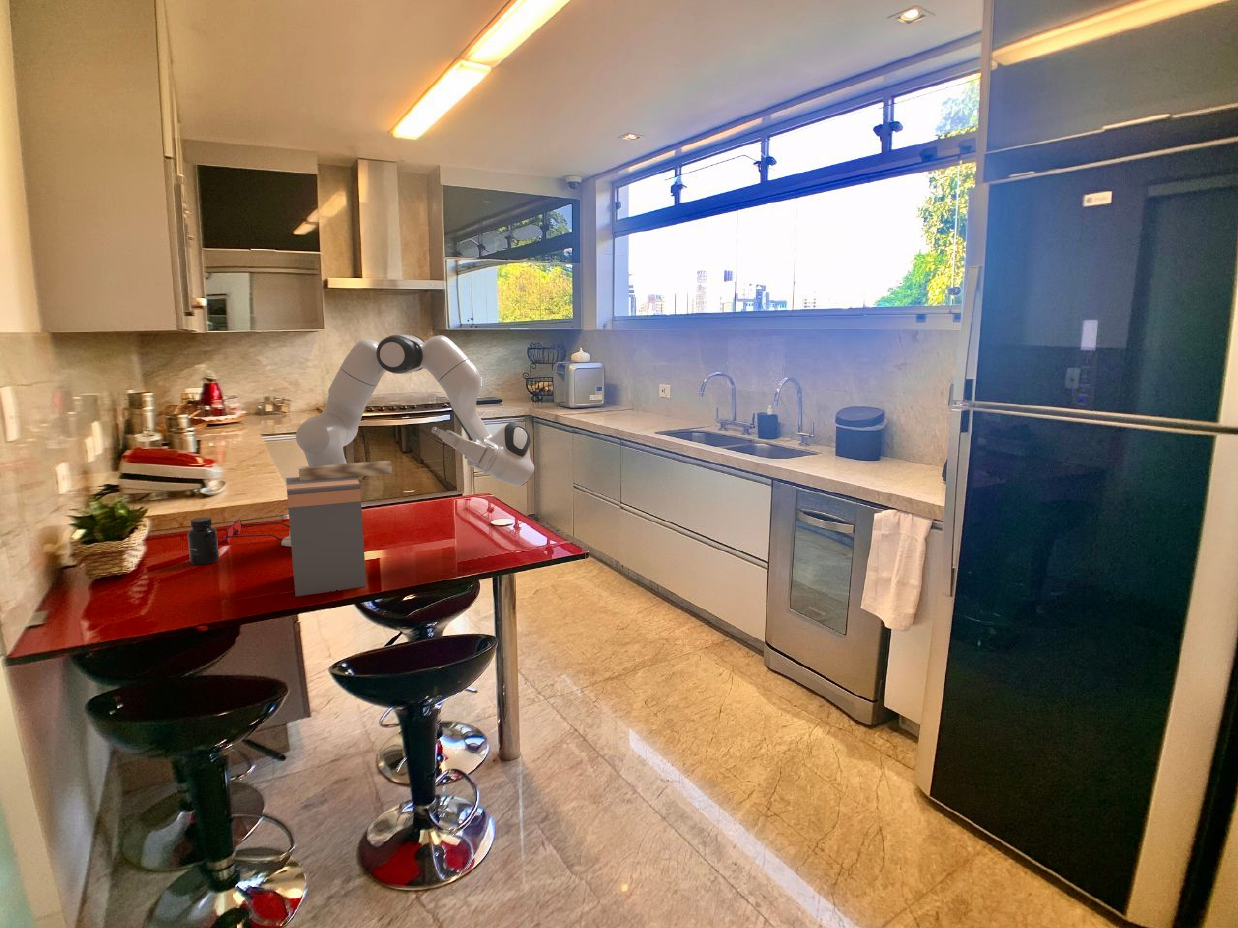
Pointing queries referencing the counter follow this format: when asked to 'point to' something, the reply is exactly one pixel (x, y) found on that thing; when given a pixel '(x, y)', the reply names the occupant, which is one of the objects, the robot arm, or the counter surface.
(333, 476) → the maple bar
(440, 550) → the counter surface
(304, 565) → the stand
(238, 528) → the glasses
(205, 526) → the supplement bottle
